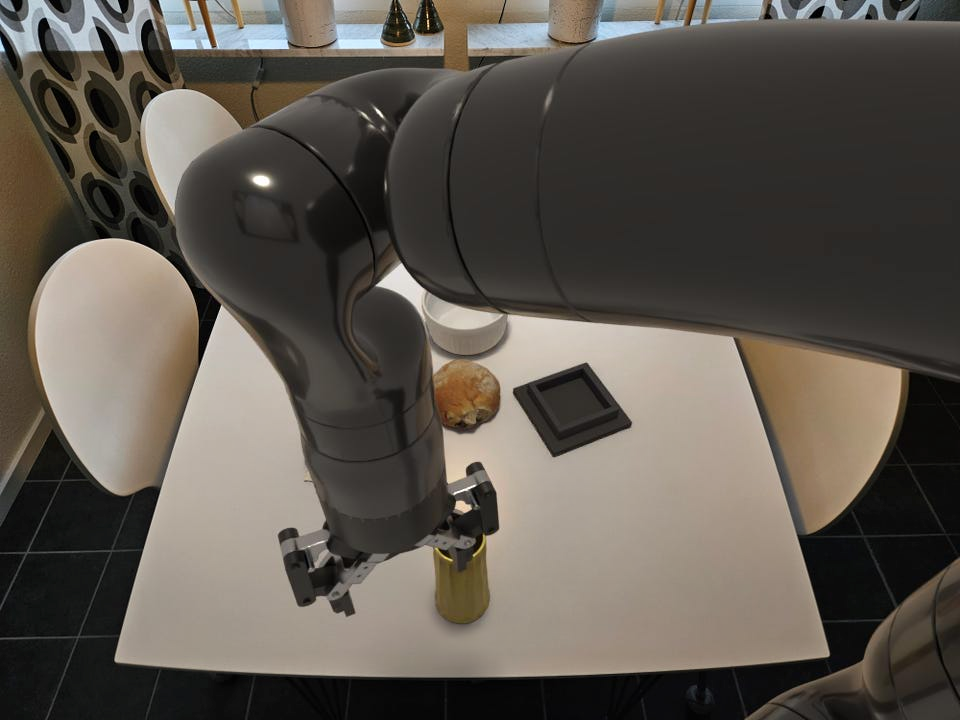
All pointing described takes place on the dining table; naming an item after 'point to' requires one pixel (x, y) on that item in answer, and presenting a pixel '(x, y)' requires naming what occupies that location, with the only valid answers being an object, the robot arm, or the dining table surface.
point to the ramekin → (461, 326)
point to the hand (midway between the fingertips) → (404, 581)
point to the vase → (462, 584)
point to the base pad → (571, 408)
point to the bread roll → (466, 393)
